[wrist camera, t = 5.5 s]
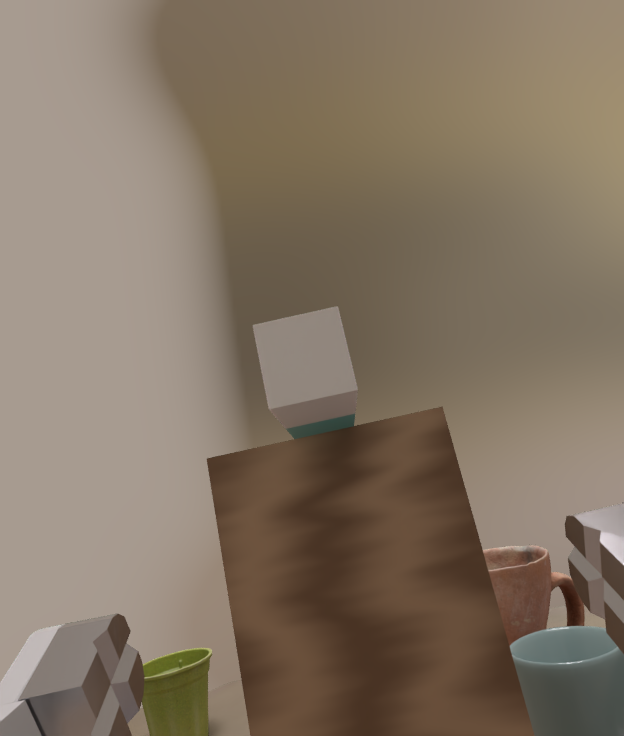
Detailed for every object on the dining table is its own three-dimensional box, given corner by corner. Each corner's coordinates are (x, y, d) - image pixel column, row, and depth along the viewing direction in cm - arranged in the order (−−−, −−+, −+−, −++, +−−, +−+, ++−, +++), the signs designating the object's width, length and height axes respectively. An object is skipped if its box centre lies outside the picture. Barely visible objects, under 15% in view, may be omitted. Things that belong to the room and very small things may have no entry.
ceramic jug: (476, 776, 41) (432, 585, 44) (413, 710, 54) (383, 568, 58) (669, 714, 44) (614, 541, 47) (564, 667, 58) (528, 536, 61)
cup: (647, 870, 28) (585, 670, 31) (527, 817, 35) (484, 655, 37) (706, 799, 33) (647, 629, 35) (590, 764, 39) (547, 622, 41)
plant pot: (229, 743, 57) (216, 657, 59) (138, 776, 53) (129, 684, 55) (217, 717, 65) (206, 642, 67) (138, 744, 62) (130, 665, 64)
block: (351, 449, 38) (342, 410, 39) (357, 389, 17) (337, 305, 18) (311, 458, 38) (303, 418, 39) (268, 409, 17) (252, 325, 18)
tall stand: (535, 886, 29) (415, 431, 35) (632, 1082, 19) (442, 406, 26) (325, 931, 29) (244, 469, 36) (315, 1148, 19) (206, 458, 26)
